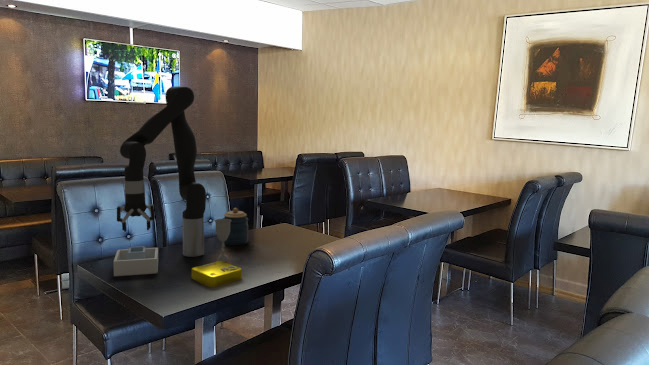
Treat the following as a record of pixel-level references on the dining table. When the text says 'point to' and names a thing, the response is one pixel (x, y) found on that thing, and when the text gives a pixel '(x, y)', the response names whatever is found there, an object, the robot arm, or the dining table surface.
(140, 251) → the small crate
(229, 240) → the canister
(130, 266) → the large crate
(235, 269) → the element tile
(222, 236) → the chalice
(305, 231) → the dining table surface
